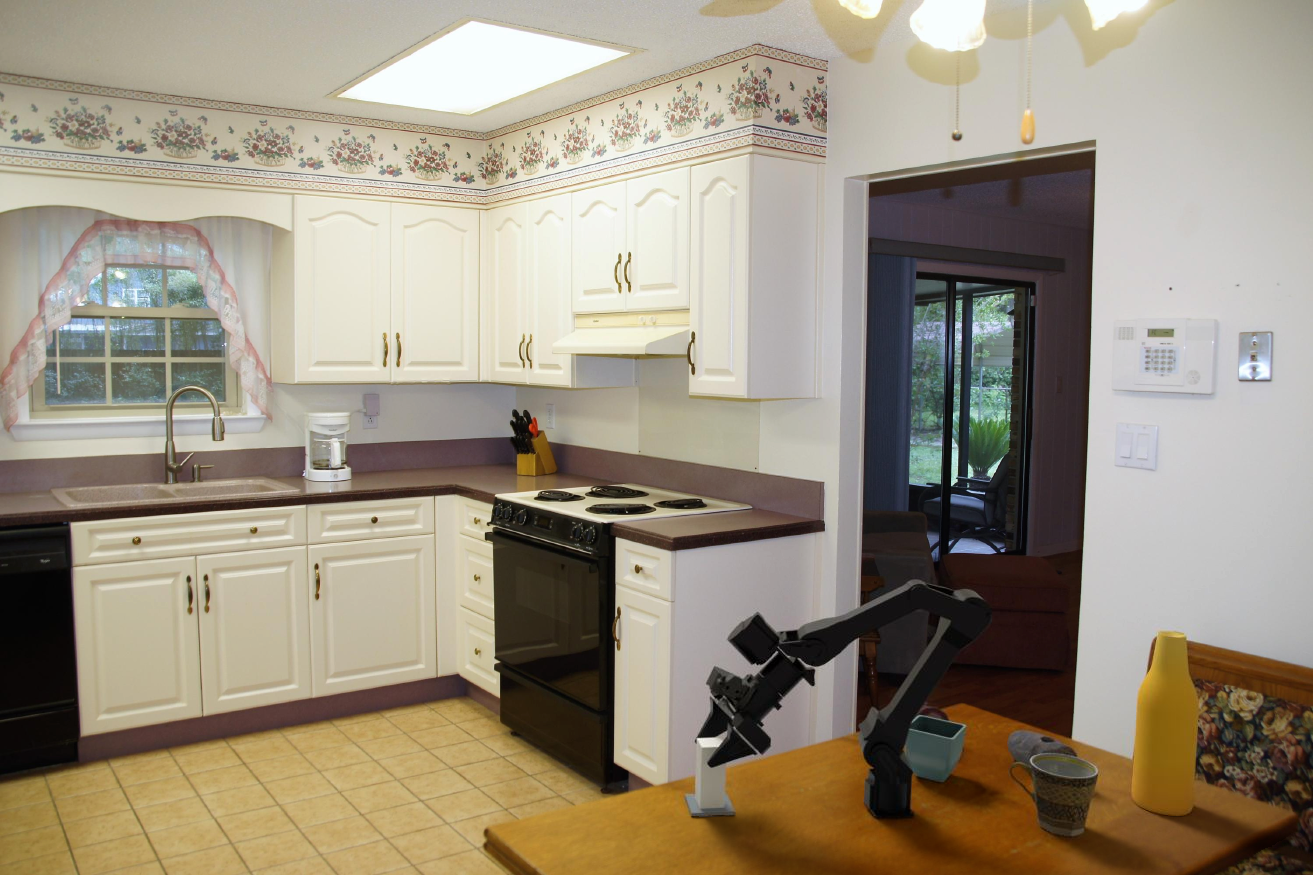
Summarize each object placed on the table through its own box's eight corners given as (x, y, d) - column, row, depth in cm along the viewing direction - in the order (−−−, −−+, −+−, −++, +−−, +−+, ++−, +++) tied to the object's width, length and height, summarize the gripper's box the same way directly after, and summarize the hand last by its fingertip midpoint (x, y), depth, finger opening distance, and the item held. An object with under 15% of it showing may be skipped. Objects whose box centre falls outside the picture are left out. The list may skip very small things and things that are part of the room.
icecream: (968, 721, 184) (940, 702, 199) (930, 711, 183) (906, 692, 198) (958, 757, 183) (931, 735, 198) (921, 747, 183) (896, 725, 198)
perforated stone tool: (997, 757, 184) (999, 720, 183) (1020, 754, 185) (1022, 718, 185) (1055, 789, 170) (1057, 750, 169) (1079, 785, 171) (1081, 746, 171)
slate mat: (726, 796, 163) (726, 792, 163) (734, 815, 156) (734, 811, 156) (684, 797, 162) (684, 793, 162) (691, 816, 155) (691, 812, 155)
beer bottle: (1206, 813, 161) (1217, 639, 159) (1161, 819, 158) (1172, 643, 157) (1161, 790, 170) (1171, 625, 168) (1118, 796, 167) (1128, 628, 165)
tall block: (718, 796, 161) (720, 737, 161) (724, 807, 157) (726, 746, 157) (694, 797, 161) (696, 738, 160) (700, 808, 157) (701, 747, 156)
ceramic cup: (1091, 819, 158) (1095, 758, 158) (1098, 846, 149) (1101, 782, 148) (1006, 805, 162) (1009, 746, 162) (1007, 831, 153) (1010, 768, 152)
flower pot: (965, 773, 175) (967, 724, 175) (951, 790, 168) (953, 738, 167) (916, 761, 180) (918, 713, 180) (900, 777, 173) (903, 727, 172)
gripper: (724, 636, 167) (658, 701, 166) (753, 668, 149) (679, 742, 148) (767, 680, 169) (702, 745, 168) (801, 717, 151) (729, 791, 150)
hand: (702, 754), depth 158 cm, fingers open, 9 cm apart
